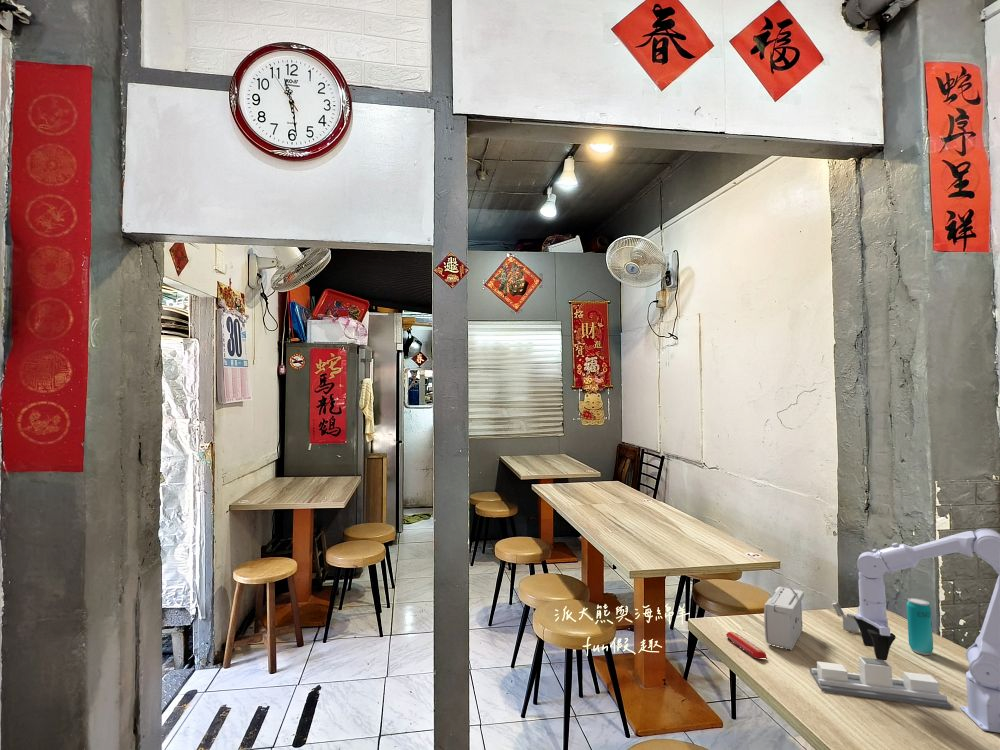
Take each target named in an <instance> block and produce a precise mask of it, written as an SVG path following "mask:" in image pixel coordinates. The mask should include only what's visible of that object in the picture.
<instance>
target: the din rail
mask: <svg viewBox="0 0 1000 750" xmlns="http://www.w3.org/2000/svg"><path fill="white" fill-rule="evenodd" d="M809 673H810V675H811V676H812V678H813V680H814V681H815V683H816V684H818V685H817V686H818V688H819V689H821V690H820V691H821V692H822V691H825V692H824V693H829V692H830V694H831V693H832V694H839V695H846V696H853V697H860V698H868V699H875V700H881V701H882V700H883V701H889V702H890V701H891V702H897V703H905V704H912V705H920V706H925V707H926V706H929V707H933V708H934V707H935V708H943V709H949V710H952V704H951V703H950V701H948V697H947V695H946V694H941V693H940V692H939V694H934V693H926V692H918V691H911V690H907V689H906V688H905V686H904V682H903V678H895V677H892V684H893V688H887V687H879V686H872V685H864V684H863V683H862V682H861V681H860V674H859V673H853V672H848V671H847V674H848V682H841V681H833V680H825V679H820V678H819V676H818V675H817V667H816V668H814V667H811V668H809Z"/></svg>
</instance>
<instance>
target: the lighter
mask: <svg viewBox="0 0 1000 750" xmlns="http://www.w3.org/2000/svg"><path fill="white" fill-rule="evenodd" d="M831 605H832V607H833V609H834V610H835V611H834V612H835V613H836V614H837V617H842V629H843V630H845V631H847V632H852V633H854V634H859V633H860V629H859V627H858V624H857V622H856V621H855V619H854V616H855V614H852V613H849V612H848V613H846V614H844V613H845V612H844V611H843V608H842V607H841V605H840V604H839V601H835V602H832V603H831Z"/></svg>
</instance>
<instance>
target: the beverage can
mask: <svg viewBox="0 0 1000 750" xmlns="http://www.w3.org/2000/svg"><path fill="white" fill-rule="evenodd" d="M931 607H932V606H930V602H929V601H927V600H925V599H921V598H917V597H910V598H909V597H908V598H907V602H906V615H907V616H906V617H907V633H908V634H907V636H908V645H909V647H910V649H911V651H913V652H914V653H916V654H919V655H921V656H923V655H924V656H931V654H932V652H934V639H933V638H934V637H933V635H934V634H933V621H932V620H933V619H932V608H931Z"/></svg>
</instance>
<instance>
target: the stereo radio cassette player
mask: <svg viewBox="0 0 1000 750" xmlns="http://www.w3.org/2000/svg"><path fill="white" fill-rule="evenodd" d="M786 586H788V587H785V586H778V587H777V588H776V589H775V590H774V591H773V593H772V595H770V597H769V598H768V600H767V601H765V604H764V608H763V610H764V611H763V615H764V616H763V617H764V618H763V620H764V621H763V622H764V623H763V624H764V635H765V636H764V637H765V642H766V643H767V644H771V645H775V646H779V647H783V648H787V649H790V650H791V651H793V649H794V647H795V645H796V643H797V641H798V639H799V637H800V635H801V634H802V631H803V612H802V611H803V610H802V609H803V608H802V607H803V605H802V604H803V603H802V600H803V598H804V597H805V592H804V591H802V590H799V589H795V588H792V587H791V586H790V585H789V583H786ZM792 648H793V649H792ZM787 649H786V650H787Z"/></svg>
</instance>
